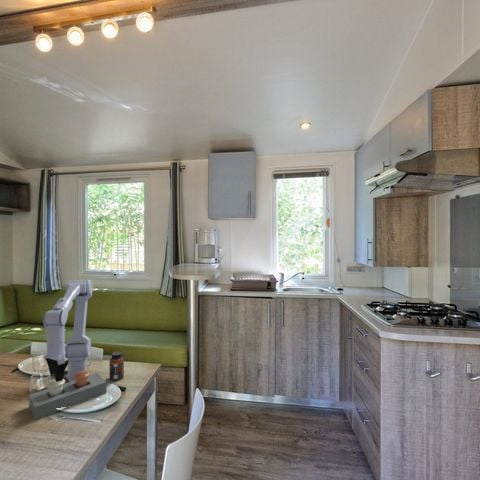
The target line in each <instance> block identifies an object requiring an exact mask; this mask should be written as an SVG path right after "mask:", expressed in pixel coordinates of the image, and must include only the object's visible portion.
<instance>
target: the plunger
mask: <svg viewBox="0 0 480 480" xmlns="http://www.w3.org/2000/svg"><path fill="white" fill-rule="evenodd" d="M65 383H66V380H65V379H64V378H63V380H61V381H58V382H56V380H55V379H52V380H50V381H48V382H47V383H46V388H47V389H49V397H54V396H57V395H60V394H62V393H63V384H65Z"/></svg>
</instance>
